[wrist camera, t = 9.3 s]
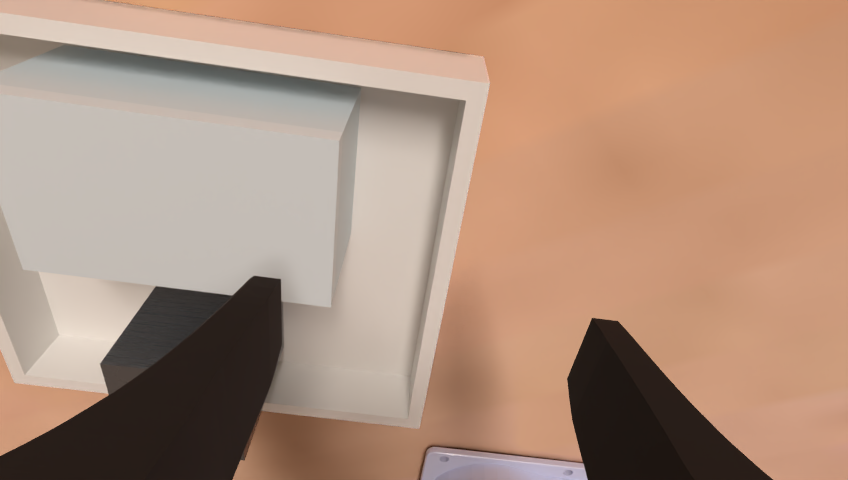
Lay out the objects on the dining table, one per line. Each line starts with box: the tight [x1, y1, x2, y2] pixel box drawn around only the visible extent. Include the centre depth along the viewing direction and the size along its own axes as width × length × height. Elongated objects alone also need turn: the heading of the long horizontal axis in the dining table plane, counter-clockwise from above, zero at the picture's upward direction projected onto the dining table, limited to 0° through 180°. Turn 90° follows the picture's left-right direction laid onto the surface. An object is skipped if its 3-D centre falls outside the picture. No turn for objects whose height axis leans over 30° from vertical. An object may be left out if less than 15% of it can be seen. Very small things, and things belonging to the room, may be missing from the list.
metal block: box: [100, 286, 284, 460], centre depth 22 cm, size 4×4×6 cm
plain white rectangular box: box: [0, 45, 361, 308], centre depth 18 cm, size 10×6×5 cm, turn 82°
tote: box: [0, 0, 490, 429], centre depth 21 cm, size 18×16×3 cm
